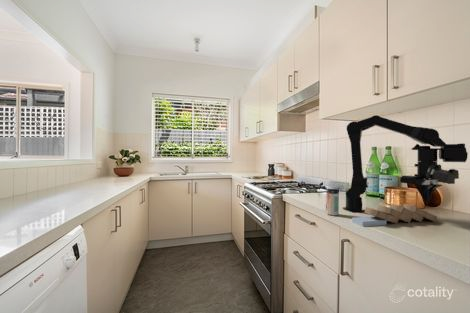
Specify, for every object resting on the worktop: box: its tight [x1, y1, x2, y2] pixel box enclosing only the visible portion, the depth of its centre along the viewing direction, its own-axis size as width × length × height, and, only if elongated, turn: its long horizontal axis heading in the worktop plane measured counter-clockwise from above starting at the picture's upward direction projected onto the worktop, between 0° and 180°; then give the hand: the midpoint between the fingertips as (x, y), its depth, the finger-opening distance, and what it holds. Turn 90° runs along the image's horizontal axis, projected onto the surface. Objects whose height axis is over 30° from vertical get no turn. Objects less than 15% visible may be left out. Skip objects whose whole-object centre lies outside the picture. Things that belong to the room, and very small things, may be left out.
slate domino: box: [351, 215, 388, 227], centre depth 78 cm, size 5×2×10 cm
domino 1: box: [364, 206, 400, 225], centre depth 79 cm, size 5×2×10 cm
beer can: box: [325, 184, 340, 217], centre depth 89 cm, size 5×5×12 cm
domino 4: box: [402, 203, 438, 223], centre depth 82 cm, size 5×2×10 cm
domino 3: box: [389, 203, 424, 223], centre depth 81 cm, size 5×2×10 cm
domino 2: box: [377, 204, 412, 224], centre depth 80 cm, size 5×2×10 cm
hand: (426, 201), depth 83 cm, fingers closed
